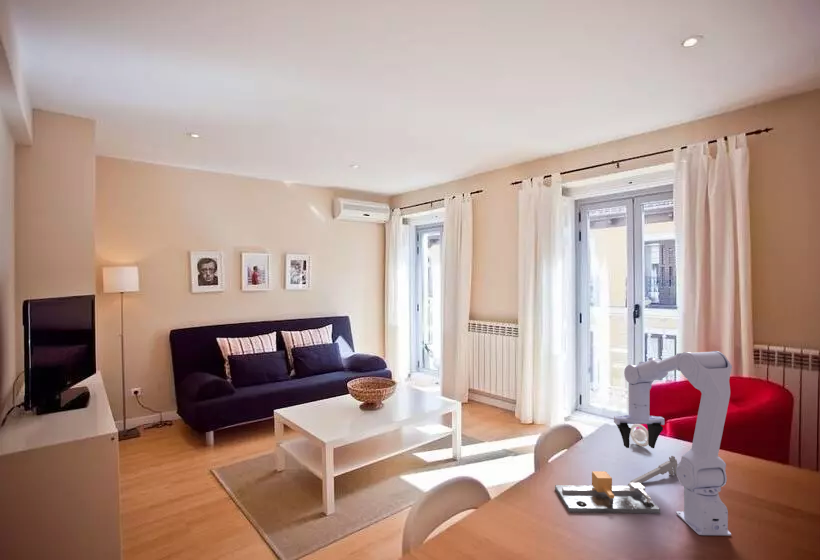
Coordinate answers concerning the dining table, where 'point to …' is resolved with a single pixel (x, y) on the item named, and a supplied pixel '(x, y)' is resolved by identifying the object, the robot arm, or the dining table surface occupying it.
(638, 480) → the caliper
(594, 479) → the block
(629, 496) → the board
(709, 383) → the robot arm
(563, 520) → the dining table surface
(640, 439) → the ring around a ball
